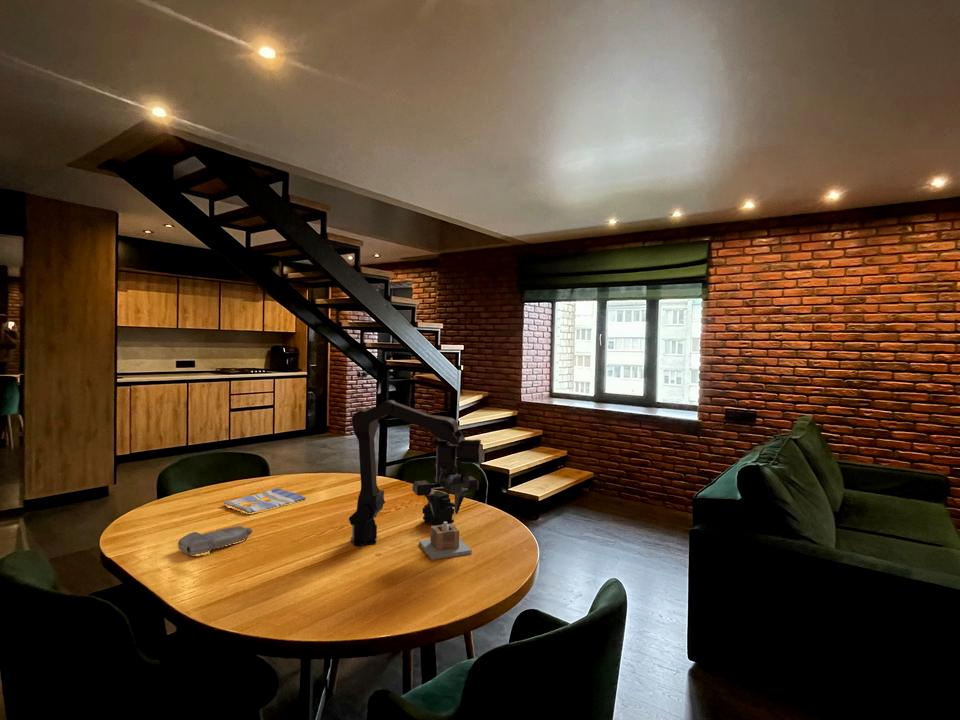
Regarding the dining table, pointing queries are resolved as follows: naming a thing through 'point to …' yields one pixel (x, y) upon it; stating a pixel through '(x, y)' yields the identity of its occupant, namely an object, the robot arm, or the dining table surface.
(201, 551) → the handheld device
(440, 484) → the robot arm
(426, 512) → the toy
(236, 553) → the dining table surface
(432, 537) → the hollow square sleeve
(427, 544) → the grey peg base
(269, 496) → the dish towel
